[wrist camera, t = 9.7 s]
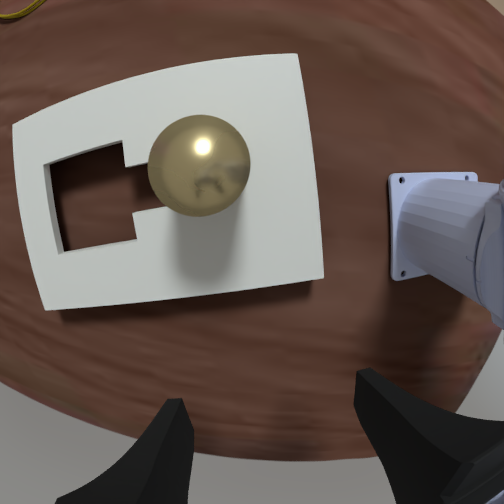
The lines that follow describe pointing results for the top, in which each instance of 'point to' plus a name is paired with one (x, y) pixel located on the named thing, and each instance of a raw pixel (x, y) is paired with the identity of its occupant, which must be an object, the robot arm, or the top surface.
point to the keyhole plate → (164, 219)
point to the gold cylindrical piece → (199, 165)
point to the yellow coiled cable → (21, 13)
